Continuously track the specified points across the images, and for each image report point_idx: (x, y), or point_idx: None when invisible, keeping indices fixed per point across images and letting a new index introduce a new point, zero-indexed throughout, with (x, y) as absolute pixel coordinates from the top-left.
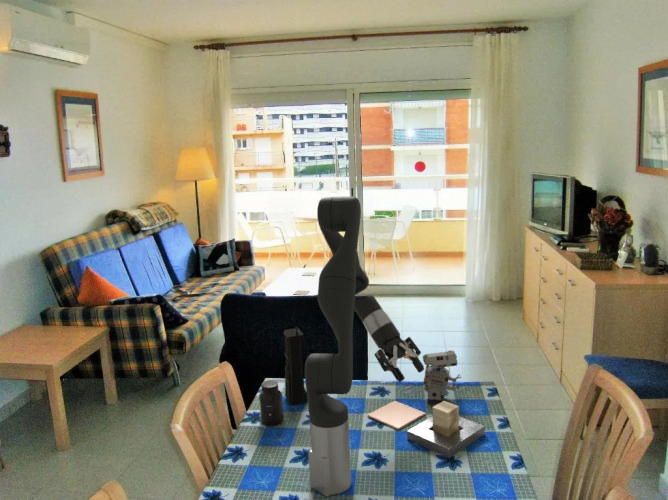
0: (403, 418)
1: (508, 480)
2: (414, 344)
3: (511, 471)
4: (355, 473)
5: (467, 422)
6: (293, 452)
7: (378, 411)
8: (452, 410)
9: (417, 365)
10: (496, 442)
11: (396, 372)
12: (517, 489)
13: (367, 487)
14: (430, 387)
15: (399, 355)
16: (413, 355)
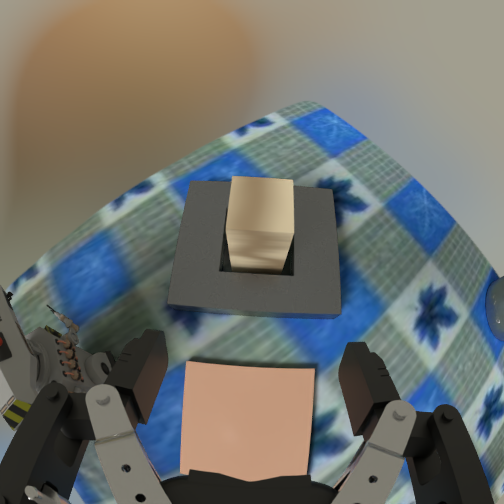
0: (257, 394)
1: (305, 118)
2: (16, 447)
3: (281, 121)
4: (474, 306)
5: (195, 215)
6: (491, 434)
7: (270, 472)
8: (267, 178)
9: (152, 374)
10: (210, 165)
11: (389, 384)
12: (314, 107)
13: (476, 263)
14: (93, 384)
15: (284, 487)
16: (125, 414)
